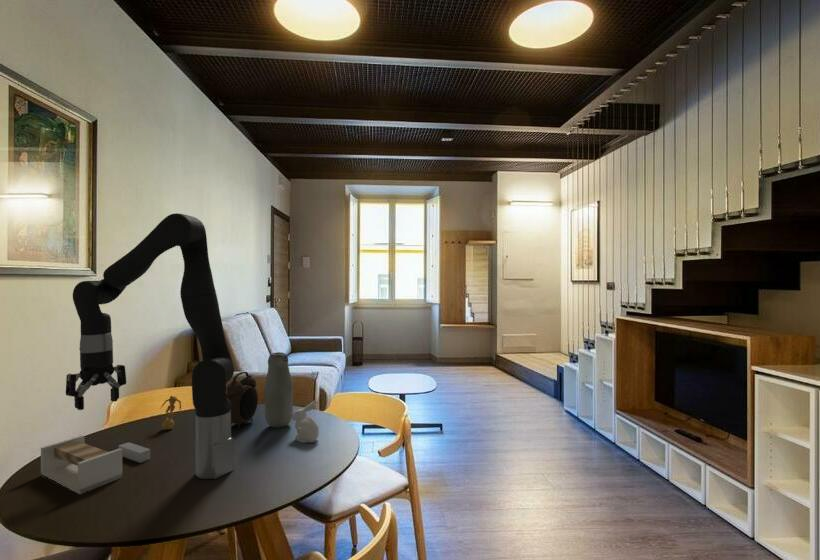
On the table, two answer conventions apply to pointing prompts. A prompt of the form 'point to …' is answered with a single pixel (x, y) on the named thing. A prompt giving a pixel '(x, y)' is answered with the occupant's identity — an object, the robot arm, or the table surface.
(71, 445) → the shelf board
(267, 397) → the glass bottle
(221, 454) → the robot arm
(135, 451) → the block
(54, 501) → the table surface
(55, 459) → the shelf frame
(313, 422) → the rabbit
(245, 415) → the alarm clock
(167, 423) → the figurine
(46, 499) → the table surface
